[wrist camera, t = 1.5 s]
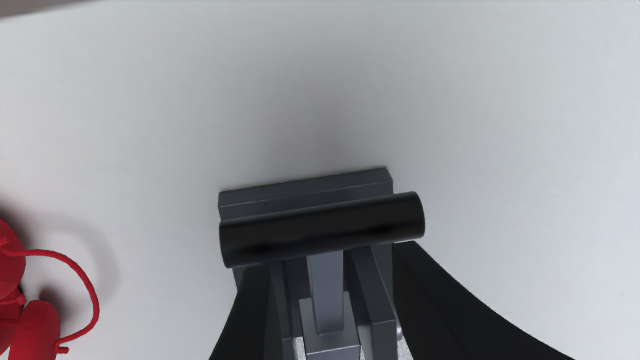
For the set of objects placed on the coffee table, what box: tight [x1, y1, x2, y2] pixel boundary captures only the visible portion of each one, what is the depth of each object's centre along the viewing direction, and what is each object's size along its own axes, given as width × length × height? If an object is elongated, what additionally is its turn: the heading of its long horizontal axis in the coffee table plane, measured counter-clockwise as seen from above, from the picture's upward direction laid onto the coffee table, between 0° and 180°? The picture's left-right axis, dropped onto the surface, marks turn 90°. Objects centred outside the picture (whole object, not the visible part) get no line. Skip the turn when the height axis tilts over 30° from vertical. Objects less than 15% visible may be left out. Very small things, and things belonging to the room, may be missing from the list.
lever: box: [219, 191, 425, 360], centre depth 19 cm, size 10×6×2 cm, turn 5°
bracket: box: [218, 168, 402, 360], centre depth 23 cm, size 9×8×7 cm
